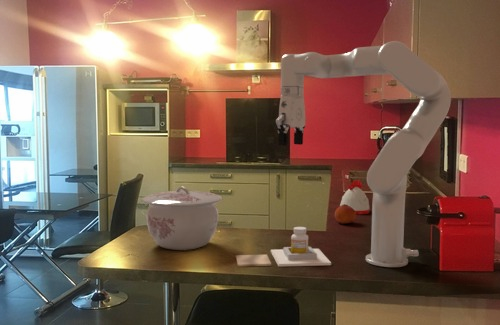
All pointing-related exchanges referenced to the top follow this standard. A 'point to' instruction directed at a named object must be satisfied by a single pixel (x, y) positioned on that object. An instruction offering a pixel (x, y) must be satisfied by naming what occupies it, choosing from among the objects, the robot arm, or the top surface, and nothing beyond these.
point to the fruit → (345, 214)
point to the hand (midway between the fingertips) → (290, 144)
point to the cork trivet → (253, 260)
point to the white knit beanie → (356, 198)
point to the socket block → (299, 257)
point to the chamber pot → (182, 218)
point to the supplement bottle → (299, 241)
